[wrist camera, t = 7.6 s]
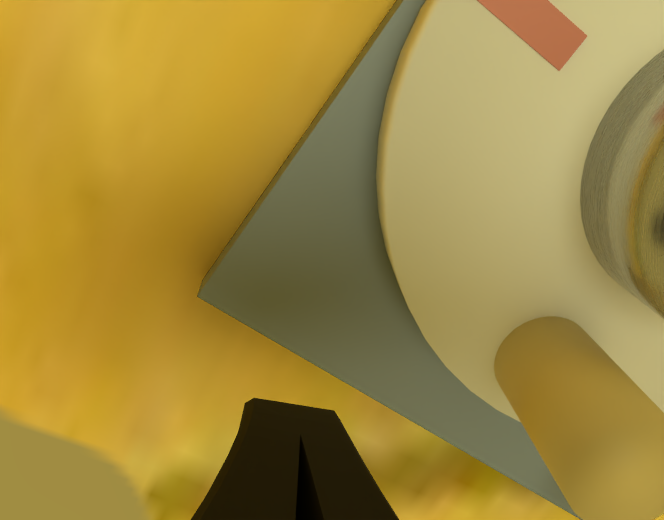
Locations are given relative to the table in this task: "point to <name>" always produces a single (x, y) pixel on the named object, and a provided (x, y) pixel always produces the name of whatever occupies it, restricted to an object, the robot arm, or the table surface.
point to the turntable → (526, 231)
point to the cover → (629, 187)
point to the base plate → (356, 275)
